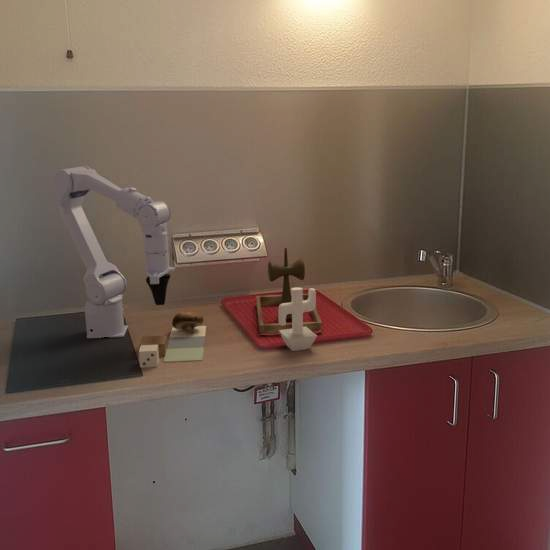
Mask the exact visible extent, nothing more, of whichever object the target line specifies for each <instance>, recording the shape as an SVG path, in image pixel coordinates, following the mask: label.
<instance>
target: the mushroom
mask: <svg viewBox="0 0 550 550" xmlns="http://www.w3.org/2000/svg"><path fill="white" fill-rule="evenodd" d="M203 322H204V316H203V315H202V314H200V313H198V312H196V311H192V310H184V311H180V312H178V313H177V314H176V315H175V316H174V317H173V318H172V322H171V323H172V324H171V325H172V327H174V328H175V329H182V330H183V331H184V332H186V333H195V332H194V328H195V327H197V326H202V324H203Z"/></svg>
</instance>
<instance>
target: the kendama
mask: <svg viewBox="0 0 550 550" xmlns="http://www.w3.org/2000/svg"><path fill="white" fill-rule="evenodd" d="M283 253H284V255H283V258H284V259H283V261H284V262H283V265H281V264H278V263H276V262H273V261H271V260H270V261H268V263H267V275H268V276H267V277H268V280H269V281H270V282H272V283H273V282H274V281H276V280H277V279H279V278H282V277H283V282H282V283H283V284H282V290H281V291H282V292H281V295H282V297H281V299H280V300H279V301H278V303H279V304H282V303H290V302H291V301H292V296H291V287H290V276H291V277H295V278H296V279H299V280H300V281H304V280H305V276H306V275H305V273H306V269H305V268H306V267H305V262H304V260H303V259H302V258H299V259H297V260H295V261H294V262H293V263H291V264H289V263H288V248H287V247H284V252H283ZM277 318H278V319H279V316H278V315H277ZM290 320H291V321H292V314H287V315H286V321H290Z"/></svg>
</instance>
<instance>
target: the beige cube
mask: <svg viewBox="0 0 550 550" xmlns="http://www.w3.org/2000/svg"><path fill="white" fill-rule="evenodd" d="M138 358H139V359H138V360H139V368H140V367H141V368H155V367H156V368H157V367H159V362H160V356H159V351H158V345H141V346H140V349H139V350H138Z"/></svg>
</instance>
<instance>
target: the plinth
mask: <svg viewBox="0 0 550 550" xmlns="http://www.w3.org/2000/svg"><path fill="white" fill-rule="evenodd" d="M140 339H141V340H140V342H139V344H138V347H139V349H140V346H141V345H158V351H159V357H165V354H166V350H167V346H168V335H147V336H146V335H145V336H143V335H142V336H141V338H140Z"/></svg>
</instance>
